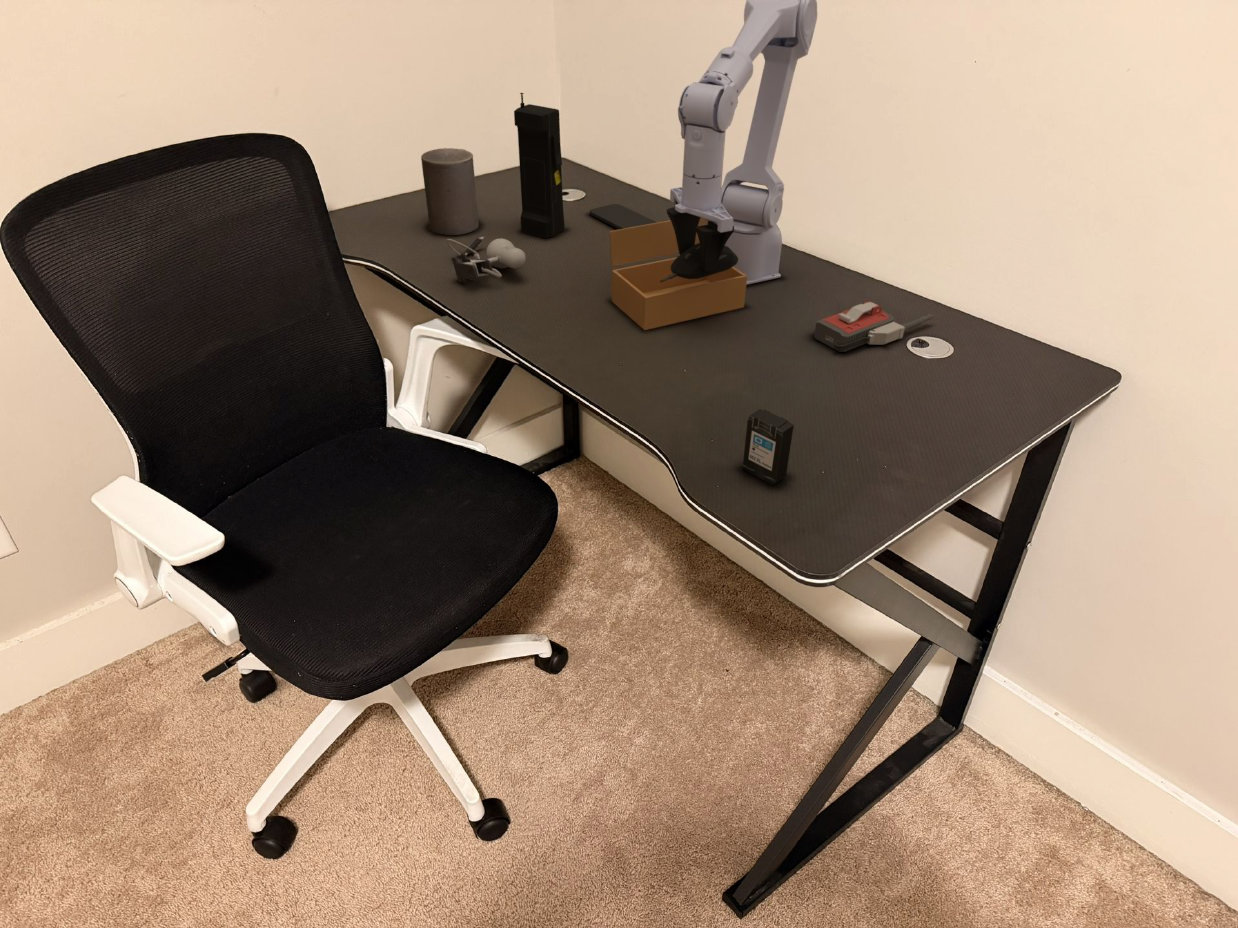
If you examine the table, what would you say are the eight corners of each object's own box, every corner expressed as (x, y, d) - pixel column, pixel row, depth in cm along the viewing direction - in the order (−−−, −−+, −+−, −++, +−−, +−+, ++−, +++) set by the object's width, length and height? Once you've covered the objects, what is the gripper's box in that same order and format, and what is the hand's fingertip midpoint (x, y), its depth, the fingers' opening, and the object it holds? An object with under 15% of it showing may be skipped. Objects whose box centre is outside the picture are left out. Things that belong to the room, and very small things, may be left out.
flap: (610, 231, 137) (609, 231, 137) (612, 266, 139) (611, 266, 140) (709, 213, 143) (708, 213, 144) (709, 247, 146) (709, 247, 146)
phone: (617, 203, 178) (661, 224, 168) (617, 207, 179) (661, 228, 169) (587, 210, 175) (630, 232, 165) (587, 214, 175) (630, 236, 165)
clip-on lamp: (439, 274, 158) (473, 291, 143) (429, 240, 155) (462, 253, 140) (498, 256, 162) (536, 270, 147) (489, 222, 159) (527, 233, 145)
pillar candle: (419, 231, 167) (409, 152, 158) (446, 215, 174) (438, 138, 166) (463, 239, 164) (455, 158, 155) (488, 222, 172) (482, 144, 163)
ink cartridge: (741, 469, 106) (747, 414, 101) (752, 461, 107) (759, 406, 102) (774, 486, 103) (782, 430, 98) (785, 478, 104) (794, 423, 99)
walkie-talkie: (847, 362, 127) (935, 327, 136) (852, 335, 124) (941, 301, 134) (804, 339, 133) (891, 306, 142) (808, 313, 130) (896, 281, 140)
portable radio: (571, 230, 168) (567, 94, 153) (552, 240, 164) (547, 101, 149) (538, 222, 171) (532, 88, 157) (519, 232, 167) (511, 95, 153)
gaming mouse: (647, 275, 132) (647, 251, 130) (718, 252, 140) (719, 228, 137) (674, 290, 128) (675, 264, 126) (745, 265, 136) (748, 241, 133)
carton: (644, 330, 135) (645, 297, 132) (611, 301, 143) (611, 270, 140) (744, 307, 142) (747, 275, 138) (707, 280, 150) (709, 250, 147)
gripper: (654, 162, 129) (651, 249, 137) (705, 192, 119) (699, 284, 127) (694, 156, 132) (689, 241, 140) (748, 184, 121) (739, 275, 129)
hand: (697, 261), depth 133 cm, fingers closed on gaming mouse, 6 cm apart
